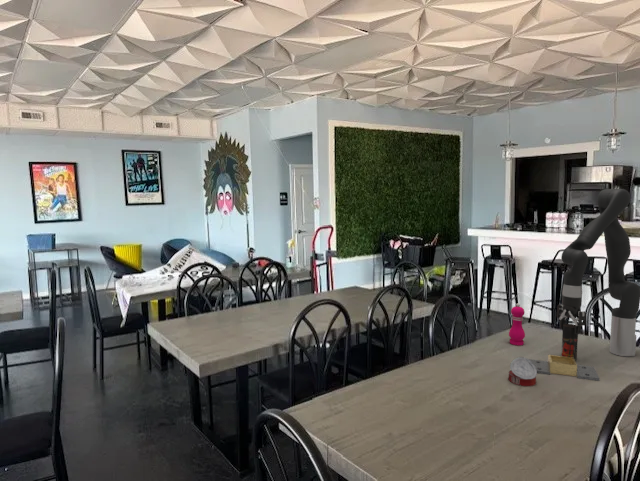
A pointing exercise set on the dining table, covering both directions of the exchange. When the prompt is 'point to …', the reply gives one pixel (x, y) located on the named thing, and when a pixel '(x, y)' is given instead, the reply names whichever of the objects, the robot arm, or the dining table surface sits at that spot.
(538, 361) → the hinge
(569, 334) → the deodorant
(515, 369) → the canned food
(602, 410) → the dining table surface
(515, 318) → the pepper mill
